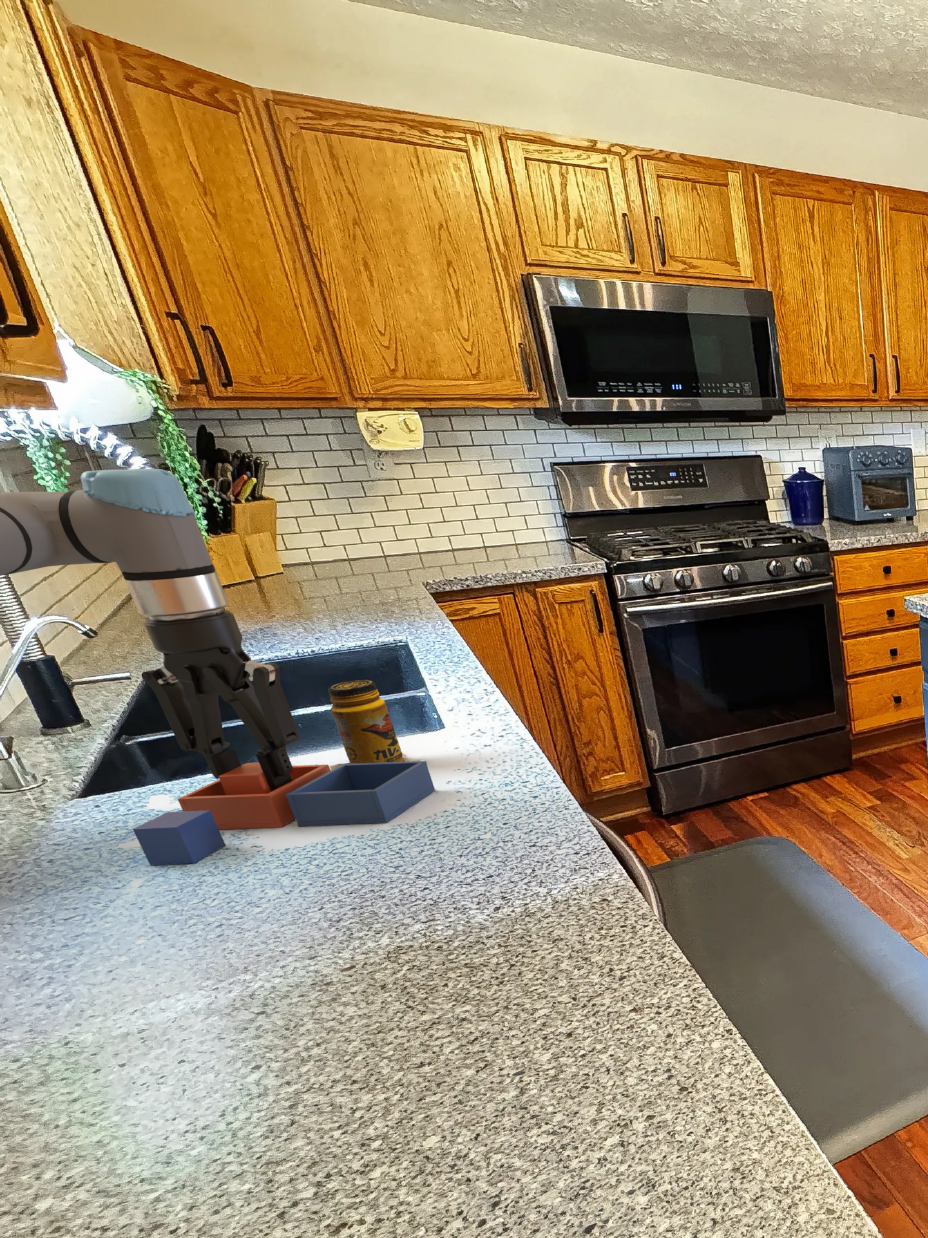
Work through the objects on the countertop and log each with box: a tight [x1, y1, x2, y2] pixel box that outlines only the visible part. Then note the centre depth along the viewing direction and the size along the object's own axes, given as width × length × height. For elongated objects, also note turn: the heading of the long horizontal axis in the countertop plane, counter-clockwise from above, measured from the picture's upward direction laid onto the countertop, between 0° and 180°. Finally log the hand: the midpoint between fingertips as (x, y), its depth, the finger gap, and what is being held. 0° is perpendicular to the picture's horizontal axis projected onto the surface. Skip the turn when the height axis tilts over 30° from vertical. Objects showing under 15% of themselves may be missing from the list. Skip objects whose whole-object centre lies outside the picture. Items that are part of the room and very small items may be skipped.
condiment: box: [327, 679, 410, 770], centre depth 120 cm, size 7×8×12 cm
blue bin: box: [286, 760, 436, 827], centre depth 108 cm, size 10×10×4 cm
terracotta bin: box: [177, 764, 331, 831], centre depth 107 cm, size 10×10×4 cm
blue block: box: [132, 810, 227, 866], centre depth 96 cm, size 4×4×4 cm
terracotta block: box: [218, 762, 271, 795], centre depth 107 cm, size 4×4×4 cm
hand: (264, 799), depth 107 cm, fingers closed on terracotta block, 4 cm apart
